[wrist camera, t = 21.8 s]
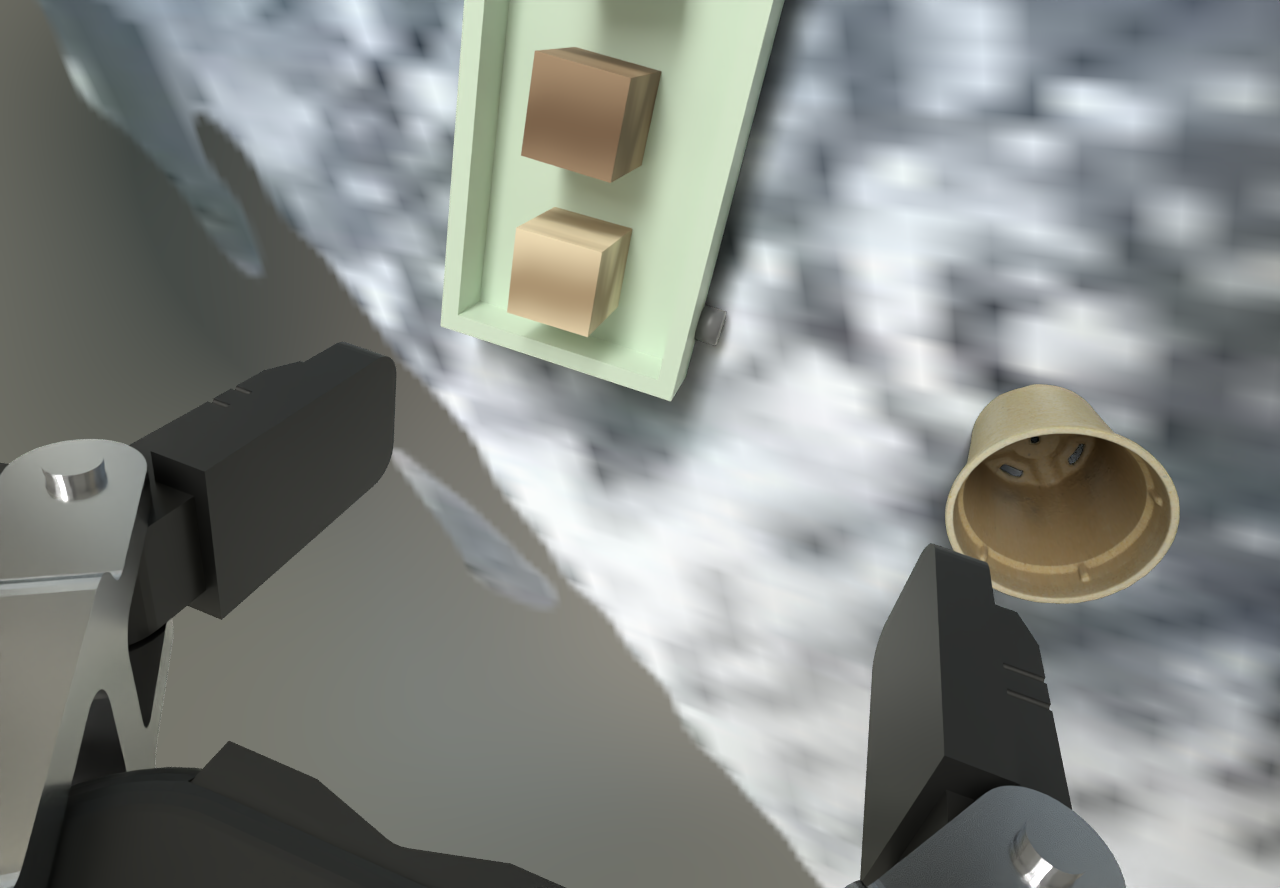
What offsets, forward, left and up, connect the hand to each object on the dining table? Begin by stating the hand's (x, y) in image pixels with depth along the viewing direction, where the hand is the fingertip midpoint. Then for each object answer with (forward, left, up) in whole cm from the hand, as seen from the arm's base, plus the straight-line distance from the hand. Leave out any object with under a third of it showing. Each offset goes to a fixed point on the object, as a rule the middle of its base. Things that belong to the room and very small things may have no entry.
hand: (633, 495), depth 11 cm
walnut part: (0, -11, -31) cm, 33 cm away
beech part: (+8, -11, -31) cm, 34 cm away
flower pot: (+11, +15, -33) cm, 38 cm away
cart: (0, -11, -33) cm, 35 cm away
